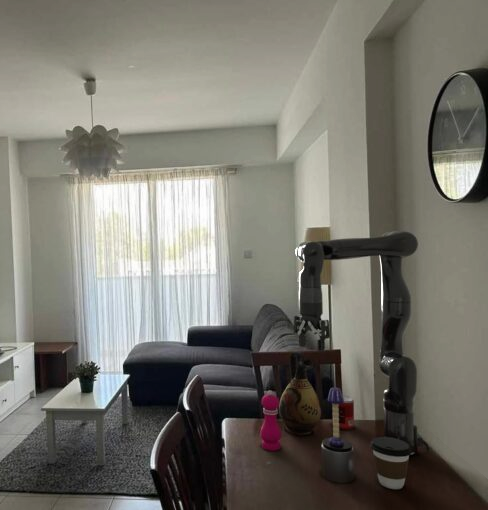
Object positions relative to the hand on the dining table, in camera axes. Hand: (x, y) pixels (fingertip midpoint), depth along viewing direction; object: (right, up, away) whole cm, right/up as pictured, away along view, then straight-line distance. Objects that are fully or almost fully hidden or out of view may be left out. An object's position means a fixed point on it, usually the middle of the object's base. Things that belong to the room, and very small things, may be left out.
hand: (311, 348), depth 156 cm
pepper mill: (-12, -37, +7) cm, 39 cm away
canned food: (+22, -36, +26) cm, 49 cm away
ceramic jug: (+3, -36, +23) cm, 43 cm away
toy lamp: (+3, -26, -14) cm, 30 cm away
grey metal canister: (+3, -36, -14) cm, 39 cm away
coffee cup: (+16, -36, -20) cm, 44 cm away
